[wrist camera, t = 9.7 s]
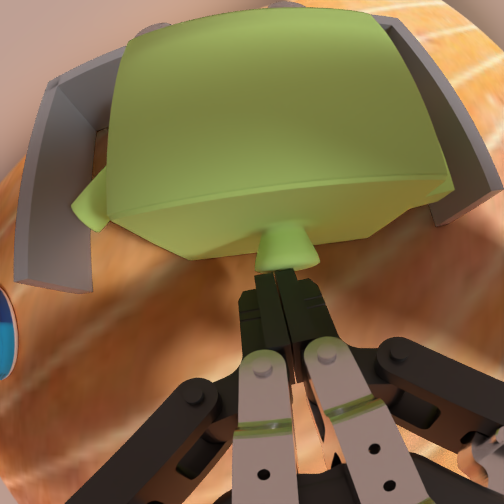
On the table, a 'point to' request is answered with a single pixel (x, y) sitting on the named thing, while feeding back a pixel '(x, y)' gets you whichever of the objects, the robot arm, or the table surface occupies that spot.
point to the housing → (97, 118)
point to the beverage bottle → (7, 337)
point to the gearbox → (264, 137)
